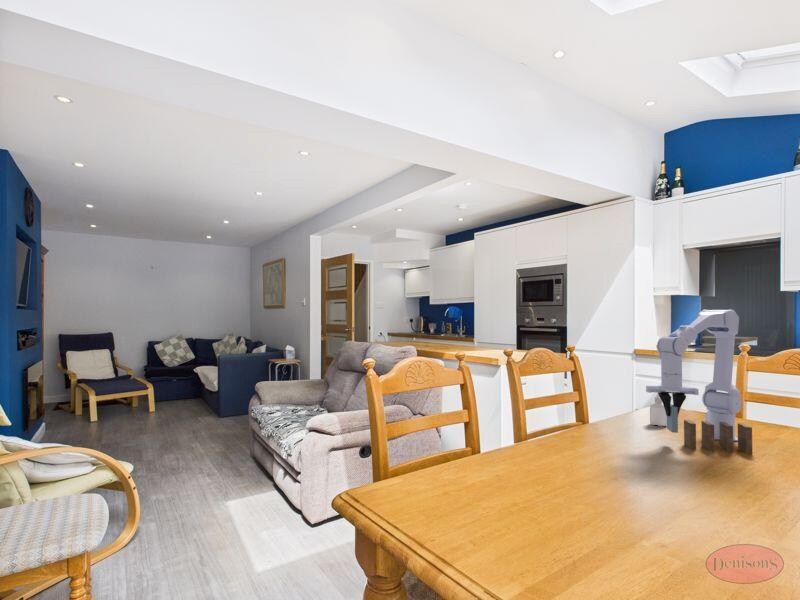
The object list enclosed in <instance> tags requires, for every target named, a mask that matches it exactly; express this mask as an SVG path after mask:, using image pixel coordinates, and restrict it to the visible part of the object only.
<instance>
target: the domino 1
mask: <svg viewBox="0 0 800 600" xmlns="http://www.w3.org/2000/svg"><path fill="white" fill-rule="evenodd" d="M670 408H671V415H670V416H667V426H666V429H667V430H668V431H669V432H671V433H675V434H676V433H677V434H678V433H679V418H678V417H679V415H678V407H676V406H674V405H673V403H671V405H670Z"/></svg>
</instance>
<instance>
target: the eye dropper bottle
mask: <svg viewBox="0 0 800 600" xmlns="http://www.w3.org/2000/svg"><path fill="white" fill-rule="evenodd" d="M649 424H650V425H651V426H654V425H658V426H657V427H662V426H666V427H667V415H666V412H665V408H664V405H663V403H662V400H661V398H660V397H659V395H658V393H656V396H654V402H652V403H650V404H649Z"/></svg>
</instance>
